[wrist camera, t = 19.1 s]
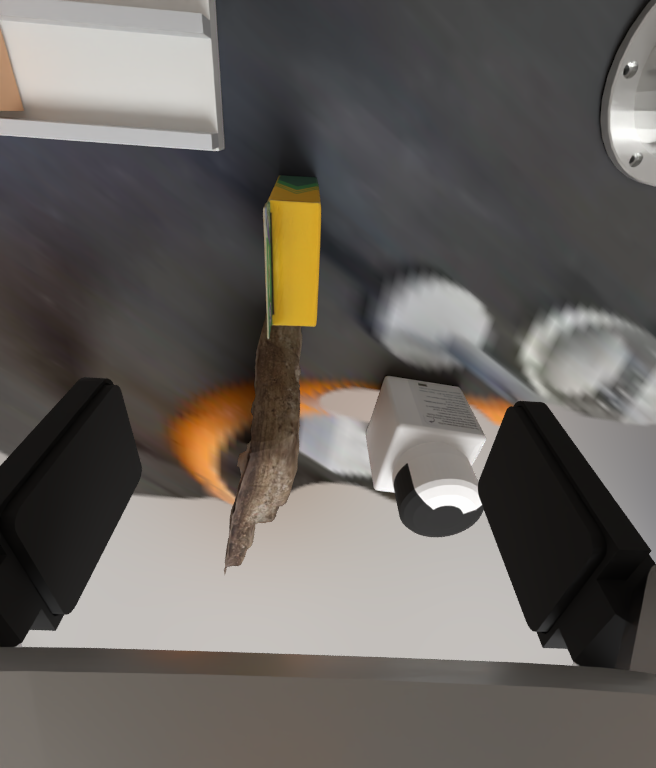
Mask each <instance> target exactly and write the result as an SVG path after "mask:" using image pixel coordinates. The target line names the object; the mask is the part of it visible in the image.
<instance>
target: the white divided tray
mask: <svg viewBox="0 0 656 768" xmlns="http://www.w3.org/2000/svg"><path fill="white" fill-rule="evenodd" d="M0 29H1V32H2V35H3V39H4V42H5V46H6V49H7V53H8V56H9V60H10V63H11V67H12V70H13V74H14V77H15V81H16V84H17V88H18V91H19V95H20V98H21V102H22V105H23V109H24V111H0V135H7V136H21V137H35V138H48V139H62V140H75V141H89V142H103V143H116V144H130V145H143V146H157V147H171V148H184V149H198V150H211V151H220V150H223V149H225V145H224V129H223V113H222V97H221V81H220V65H219V50H218V34H217V18H216V2H215V0H0Z"/></svg>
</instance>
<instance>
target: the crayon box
mask: <svg viewBox="0 0 656 768" xmlns="http://www.w3.org/2000/svg"><path fill="white" fill-rule="evenodd" d="M263 221H264V247H265V282H266V309H267V338H268V339H269V337H270V330H271V326H272V325H282V326H312V327H314V326H316V322H317V303H318V282H319V259H320V232H321V203H320V194H319V186H318V181H317V178H315V177H300V176H283V175H280V176H279V177H278V179H277V181H276V184H275V186H274V188H273V190H272V193H271V195H270V197H269V199H268V201H267V203H266V204H265V206H264V208H263Z"/></svg>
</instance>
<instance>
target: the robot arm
mask: <svg viewBox="0 0 656 768" xmlns="http://www.w3.org/2000/svg"><path fill="white" fill-rule="evenodd" d="M624 68H625V72H624V74H623V71H624ZM600 121H601V131H602V139H603V142H604V145H605V148H606V151H607V154H608V156H609V157H610V159H611V161H612V162H613V164H614V165H615V167H616V168H617V169H618V170H619V171H621V172H622V173H623V174H624V175H625V176H626V177H628V178H630V179H632V180H635V181H637V182H639V183H643V184H647V185H651V186H656V0H651V1H650V2H649V3H648V4H647V5H646V7H645V8H644V9H643V11H642V12H641V14H640V15H639V16H638V18H637V19H636V21H635V22H634V23H633V25H632V26H631V28H630V29H629V31H628V33H627V35H626V37H625V38H624V40H623V42H622V44H621V46H620V47H619V49H618V51H617V53H616V56H615V58H614V61H613V64H612V66H611V69H610V71H609V74H608V76H607V81H606V85H605V89H604V93H603V97H602V106H601V118H600ZM630 158H631V159H630ZM141 472H142V467H141V462H140V459H139V455H138V451H137V448H136V444H135V440H134V436H133V433H132V429H131V425H130V422H129V418H128V414H127V411H126V407H125V403H124V400H123V396H122V392H121V389H120V387H119V386H117V385H114V384H113V382H112V381H111V380H110V379H105V378H87V377H84V378H81V379H80V380H78V381H77V383H76V384H75V385H74V386H73V387H72V388H71V389H70V390H69V391H68V392H67V393H66V395H65V396H64V397H63V398H62V399H61V400H60V401H59V402H58V403H57V404H56V406H55V407H54V408H53V409H52V410H51V411H50V412H49V413H48V414H47V415H46V416H45V418H44V419H43V420H42V421H41V422H40V423H39V424H38V425H37V426H36V427H35V428H34V430H33V431H32V432H31V433H30V434H29V435H28V436H27V437H26V438H25V439H24V441H23V442H22V443H21V444H20V445H19V446H18V447H17V448H16V449H15V450H14V451H13V453H12V454H11V455H10V456H9V457H8V458H7V459H6V460H5V461H4V463H3V464H2V465H1V466H0V768H656V564H655V562H654V561H653V560H652V558H651V557H650V555H649V553H650V552H651V550H650V548H649V547H648V546H647V544H646V543H645V542H644V540H643V539H642V537H641V536H640V534H639V533H638V532H637V530H636V529H635V527H634V526H633V525H632V523H631V522H630V520H629V519H628V518H627V516H626V515H625V513H624V512H623V511H622V509H621V508H620V507H619V505H618V504H617V502H616V501H615V500H614V498H613V497H612V495H611V494H610V493H609V491H608V490H607V488H606V487H605V486H604V484H603V483H602V482H601V480H600V479H599V477H598V476H597V475H596V473H595V472H594V470H593V469H592V468H591V466H590V465H589V464H588V462H587V461H586V459H585V458H584V456H583V455H582V454H581V452H580V451H579V450H578V448H577V447H576V445H575V444H574V443H573V441H572V440H571V438H570V437H569V436H568V434H567V433H566V431H565V430H564V429H563V427H562V426H561V424H560V423H559V422H558V420H557V419H556V418H555V416H554V415H553V413H552V412H551V411H550V409H549V408H548V406H547V405H546V404H545V403H542V402H528V401H518V402H517V403H515V405H514V407H512V406H511V407H509V408H508V409H507V411H506V413H505V415H504V418H503V420H502V423H501V426H500V428H499V431H498V434H497V436H496V439H495V441H494V444H493V446H492V449H491V451H490V454H489V457H488V459H487V462H486V464H485V467H484V469H483V472H482V474H481V477H480V479H479V482H478V495H479V498H480V501H481V503H482V506H483V509H484V511H485V514H486V516H487V519H488V522H489V524H490V527H491V530H492V532H493V535H494V537H495V540H496V543H497V546H498V548H499V551H500V553H501V556H502V559H503V561H504V563H505V567H506V569H507V572H508V574H509V577H510V580H511V582H512V585H513V587H514V590H515V593H516V595H517V598H518V601H519V604H520V606H521V609H522V612H523V614H524V617H525V619H526V622H527V624H528V626H529V627H530V629H531V630H532V631H536V632H537V634H538V637H539V639H540V642H541V644H542V647H543V648H565V649H568V651H569V653H570V655H571V658H572V660H573V665H572V666H567V665H566V666H565V665H550V664H533V663H514V662H486V661H463V660H437V659H412V658H386V657H357V656H328V655H300V654H270V653H239V652H208V651H174V650H138V649H105V648H44V647H39V648H38V647H22V645H21V643H22V642H23V640H24V638H25V636H26V635H27V633H28V631H29V630H52V631H55V630H56V629H57V627H58V625H59V623H60V621H61V619H62V618H63V616H64V614H69V613H71V612H72V610H73V609H74V608H75V606H76V604H77V602H78V600H79V598H80V596H81V594H82V592H83V590H84V589H85V587H86V585H87V582H88V581H89V579H90V577H91V575H92V573H93V571H94V569H95V567H96V565H97V563H98V561H99V559H100V557H101V555H102V553H103V551H104V549H105V547H106V545H107V543H108V541H109V539H110V537H111V535H112V533H113V531H114V529H115V527H116V526H117V524H118V521H119V520H120V518H121V516H122V514H123V512H124V510H125V508H126V506H127V504H128V502H129V500H130V498H131V496H132V494H133V492H134V490H135V488H136V486H137V484H138V482H139V480H140V477H141Z"/></svg>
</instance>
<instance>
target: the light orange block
mask: <svg viewBox="0 0 656 768" xmlns="http://www.w3.org/2000/svg"><path fill="white" fill-rule="evenodd" d="M0 111H24V109H23V105H22V102H21V98H20V95H19V91H18V88H17V84H16V81H15V77H14V74H13V70H12V67H11V63H10V60H9V56H8V53H7V49H6V46H5V42H4V39H3V35H2V32H1V29H0Z"/></svg>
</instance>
